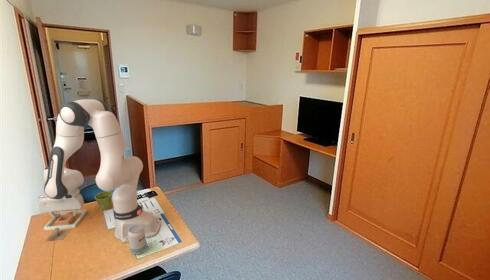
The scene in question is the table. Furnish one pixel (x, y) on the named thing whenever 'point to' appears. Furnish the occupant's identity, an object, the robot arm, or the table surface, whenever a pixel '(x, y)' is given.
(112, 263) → the table surface
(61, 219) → the orange frame with handle
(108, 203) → the plant pot
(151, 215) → the robot arm
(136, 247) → the beverage can
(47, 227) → the tray
